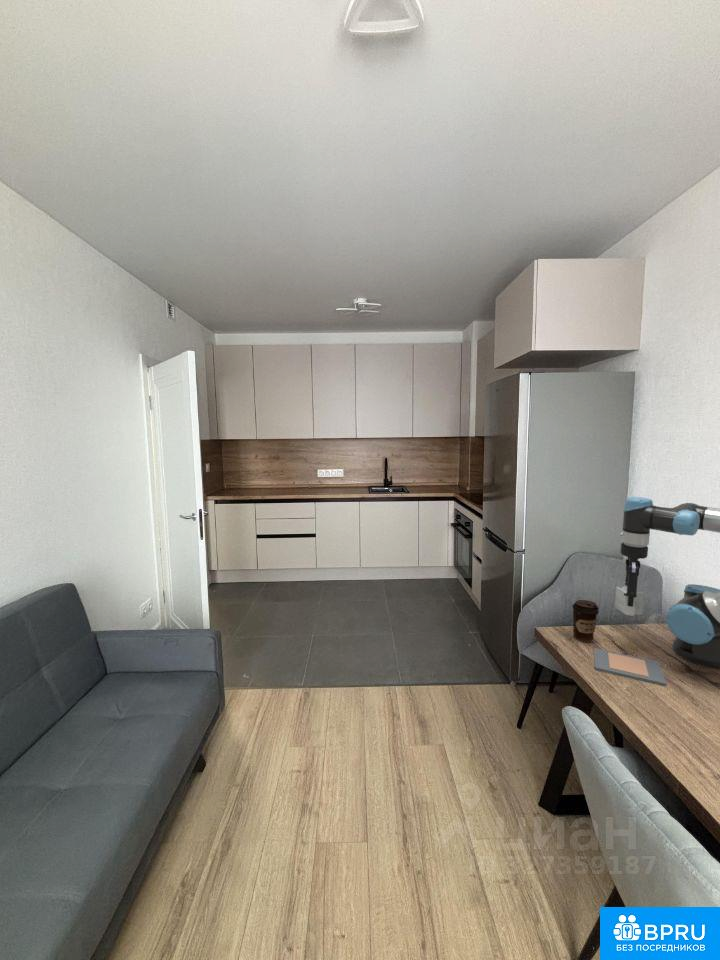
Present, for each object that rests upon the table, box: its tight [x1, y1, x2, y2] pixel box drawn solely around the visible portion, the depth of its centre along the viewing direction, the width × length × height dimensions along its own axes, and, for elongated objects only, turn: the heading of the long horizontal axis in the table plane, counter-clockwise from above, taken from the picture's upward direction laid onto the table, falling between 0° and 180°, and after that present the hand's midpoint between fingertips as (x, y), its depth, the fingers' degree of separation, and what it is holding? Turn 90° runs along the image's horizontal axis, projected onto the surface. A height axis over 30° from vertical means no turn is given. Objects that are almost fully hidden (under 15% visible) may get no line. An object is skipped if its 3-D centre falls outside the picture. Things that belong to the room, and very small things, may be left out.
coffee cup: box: [572, 599, 600, 643], centre depth 148 cm, size 9×8×13 cm
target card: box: [593, 647, 667, 687], centre depth 131 cm, size 18×13×1 cm
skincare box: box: [614, 586, 646, 615], centre depth 141 cm, size 6×6×7 cm
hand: (628, 609), depth 142 cm, fingers closed on skincare box, 8 cm apart
